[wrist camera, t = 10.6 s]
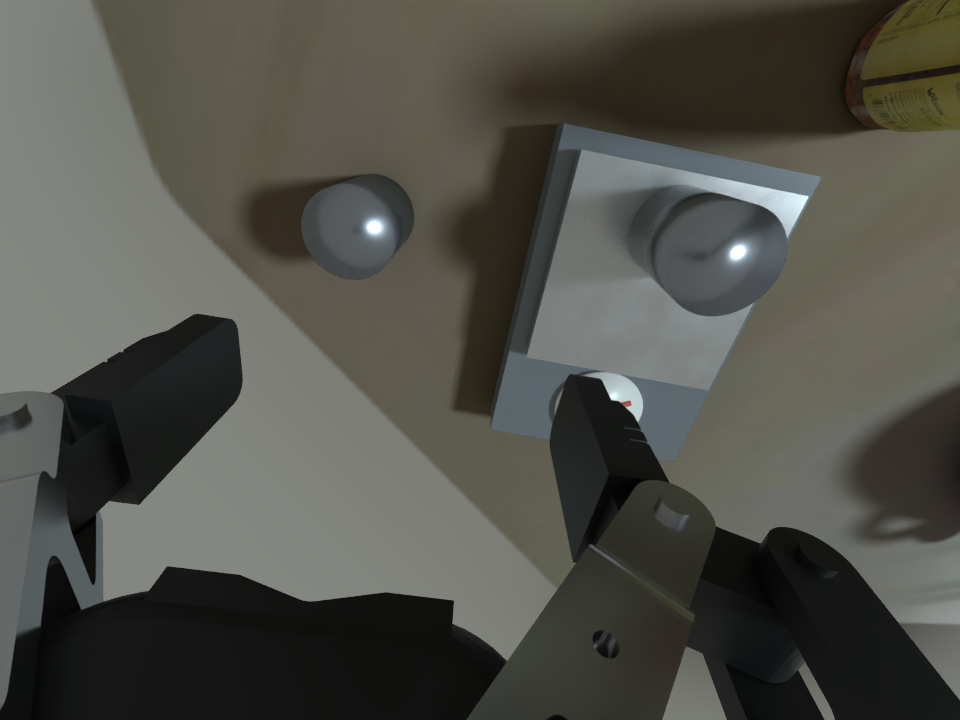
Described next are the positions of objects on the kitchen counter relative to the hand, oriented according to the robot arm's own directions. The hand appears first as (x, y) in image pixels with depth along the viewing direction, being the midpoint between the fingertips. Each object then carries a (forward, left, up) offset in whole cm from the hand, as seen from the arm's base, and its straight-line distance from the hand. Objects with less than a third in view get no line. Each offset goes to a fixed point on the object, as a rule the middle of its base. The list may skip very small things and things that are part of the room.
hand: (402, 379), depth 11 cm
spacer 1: (+6, 0, -19) cm, 20 cm away
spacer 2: (-11, -3, -15) cm, 19 cm away
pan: (-11, 0, -16) cm, 20 cm away
